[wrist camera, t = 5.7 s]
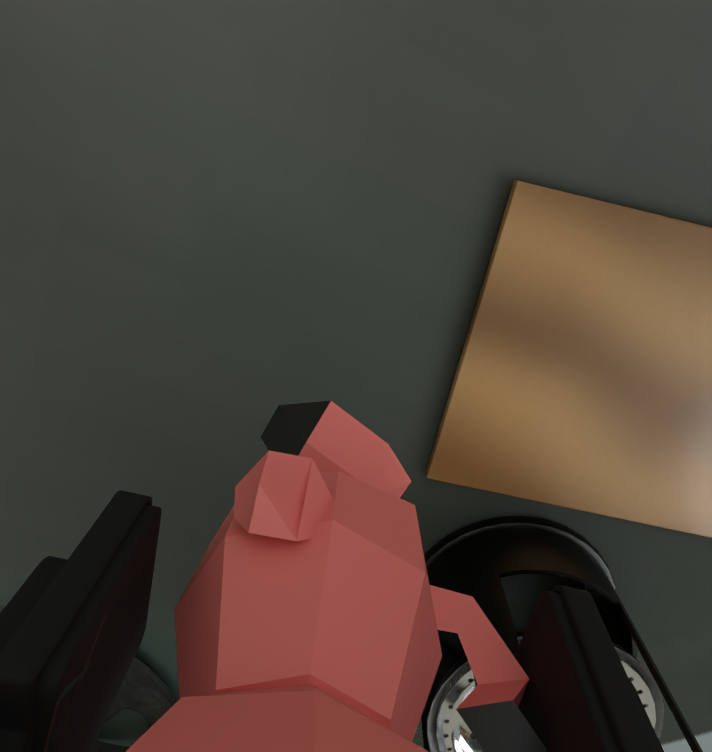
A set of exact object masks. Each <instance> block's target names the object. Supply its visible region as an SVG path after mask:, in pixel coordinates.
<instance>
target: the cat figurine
mask: <svg viewBox="0 0 712 752" xmlns="http://www.w3.org/2000/svg"><path fill="white" fill-rule="evenodd" d="M261 438H262V440H263V441H264V443H265V445H266V446H267V448H268V450H269V451H268V452H267V453H266V454H265V455H264V456H263V457H262V459H261V460H260V461H259V462H258V463H257V464H256V465H255V466H254V467H253V468H252V469H251V470H250V471H249V472H248V474H247V475H246V476H245V477H244V478H243V479H242V480H241V481H240V482H239V483H238V484H237V485H236V486H235V504H234V506H233V507H232V509H231V511H230V512H229V514H228V516H227V517H226V519H225V520H224V522H223V524H222V525H221V527H220V529H219V530H218V532H217V533H216V535H215V537H214V538H213V540H212V541H211V543H210V545H209V547H208V549H207V550H206V552H205V554H204V556H203V558H202V560H201V561H200V563H199V565H198V567H197V569H196V571H195V572H194V574H193V576H192V578H191V580H190V582H189V583H188V585H187V587H186V589H185V591H184V592H183V594H182V596H181V598H180V600H179V602H178V603H177V605H176V607H175V609H174V610H175V627H176V644H177V661H178V678H179V695H180V699H179V700H178V701H177V702H176V703H175V704H174V705H173V706H172V707H171V708H170V709H169V710H168V711H167V712H166V713H165V714H164V715H163V716H162V717H161V718H160V719H159V720H158V721H157V722H156V723H155V724H154V725H153V726H152V727H151V728H149V729H148V730H147V731H146V732H145V733H144V734H143V735H142V736H141V737H140V738H139V739H138V740H137V741H136V742H135V743H134V744H133V745H132V746H131V747H130V748H129V749H128V750H127V751H126V752H428V751H427V750H425V749H423V748H422V747H420V746H418V745H416V744H415V743H413V739H414V736H415V733H416V730H417V727H418V724H419V721H420V719H421V716H422V713H423V710H424V707H425V704H426V701H427V698H428V695H429V693H430V690H431V687H432V684H433V681H434V678H435V675H436V672H437V670H438V667H439V664H440V661H441V658H442V652H441V646H440V641H439V635H438V630H442V631H447V632H453V633H458V636H459V639H460V641H461V644H462V646H463V649H464V651H465V654H466V656H467V659H468V661H469V664H470V666H471V669H472V672H473V674H474V677H475V679H476V682H477V684H478V685H477V686H476V687H475V688H474V689H473V690H472V691H471V693H470V694H469V695H468V696H467V697H466V698H465V699H464V700H463V702H462V703H461V704H460V705H459V706H458V707H457V708H456V710H457V711H458V713H459V714H460V716H461V717H462V719H463V720H464V722H465V723H466V725H467V726H468V728H469V729H470V730H471V732H472V733H473V735H474V736H475V738H476V739H477V741H478V742H479V744H480V745H481V747H482V748H483V750H484V751H485V752H547V749H546V747H545V746H544V745H543V743H542V742H541V740H540V739H539V737H538V736H537V734H536V733H535V731H534V730H533V729H532V727H531V726H530V724H529V723H528V721H527V720H526V718H525V717H524V715H523V714H522V713H521V711H520V710H519V708H518V706H519V704H520V701H521V699H522V696H523V694H524V691H525V689H526V686H527V684H528V681H529V677H528V676H527V675H526V673H525V672H524V670H523V669H522V667H521V666H520V664H519V663H518V662H517V660H516V659H515V657H514V656H513V654H512V653H511V651H510V650H509V648H508V647H507V646H506V644H505V643H504V641H503V640H502V638H501V637H500V635H499V634H498V633H497V631H496V630H495V628H494V627H493V625H492V624H491V622H490V621H489V620H488V618H487V617H486V615H485V614H484V612H483V611H482V609H481V608H480V607H479V605H478V604H477V602H476V601H475V599H474V598H473V597H472V596H469V595H465V594H461V593H458V592H454V591H450V590H447V589H443V588H439V587H436V586H432V585H429V580H428V574H427V569H426V563H425V558H424V552H423V547H422V541H421V536H420V530H419V524H418V519H417V513H416V508H415V505H414V504H411V503H409V502H407V501H405V500H402V499H400V497H401V495H402V494H403V493H404V491H405V490H406V488H407V487H408V486H409V484H410V483H411V480H410V478H409V477H408V475H407V473H406V472H405V470H404V469H403V467H402V465H401V464H400V462H399V461H398V459H397V457H396V456H395V454H394V452H393V451H392V449H391V448H390V446H389V444H387V443H386V442H385V441H383V440H382V439H381V438H380V437H378V436H377V435H376V434H374V433H373V432H372V431H370V430H369V429H368V428H366V427H365V426H364V425H362V424H361V423H360V422H358V421H357V420H356V419H354V418H353V417H352V416H351V415H349V414H348V413H347V412H345V411H344V410H343V409H341V408H340V407H339V406H337V405H336V404H335V403H333V402H332V401H323V402H312V403H301V404H289V405H279V406H278V408H277V409H276V411H275V413H274V415H273V416H272V418H271V420H270V421H269V423H268V425H267V427H266V428H265V430H264V432H263V434H262V435H261ZM146 564H147V563H146ZM142 569H143V568H142ZM138 574H139V573H138ZM134 579H135V578H134ZM130 584H131V583H130ZM127 588H128V587H127ZM127 588H126V589H127ZM123 593H124V592H123ZM123 593H122V594H123ZM119 598H120V597H119ZM119 598H118V599H119ZM118 599H117V600H118ZM115 603H116V602H115ZM115 603H114V604H115ZM114 604H113V605H114ZM112 607H113V606H112ZM112 607H111V608H112ZM111 608H110V609H111ZM110 609H109V610H110ZM108 612H109V611H108ZM108 612H107V613H108ZM106 616H107V614H106V615H105V616H104V618H103V620H102V623H101V625H100V628H99V631H98V633H97V636H96V638H95V641H94V644H93V646H92V649H91V652H90V654H89V657H88V659H87V662H86V665H85V667H84V670H83V672H82V673H81V674H80V675H79V676H77V677H76V678H75V679H74V680H73V681H72V682H71V683H70V684H69V685H68V686H67V687H66V688H65V689H63V691H62V693H61V695H60V697H59V699H58V701H57V703H56V706H55V709H54V713H53V717H52V721H51V725H50V729H49V732H48V736H47V740H46V744H45V748H44V752H47V748H48V744H49V741H50V737H51V733H52V729H53V726H54V722H55V718H56V714H57V711H58V707H59V703H60V700H61V699H62V698H63V696H64V695H65V694H66V693H67V692H68V691H69V690H70V689H71V688H72V686H73V685H74V684H75V683H76V682H77V681H78V680H79V679H80V680H79V683H78V686H77V688H76V691H75V694H74V696H73V699H72V701H71V704H70V707H69V709H68V712H67V715H66V717H65V720H64V722H63V725H62V728H61V730H60V733H59V736H58V738H57V741H56V743H55V746H54V749H53V751H52V752H55V749H56V747H57V744H58V742H59V739H60V736H61V734H62V731H63V728H64V726H65V723H66V721H67V718H68V715H69V713H70V710H71V708H72V705H73V702H74V700H75V697H76V694H77V692H78V689H79V687H80V684H81V681H82V679H83V676H84V673H85V672H86V671H87V670H88V668H89V667H90V666H91V665H92V664H93V663H94V662H95V661H96V660H95V661H94V662H93V663H91V664H90V665H89V666H88V663H89V660H90V658H91V655H92V653H93V650H94V647H95V645H96V642H97V639H98V637H99V634H100V632H101V629H102V626H103V624H104V621H105V618H106ZM87 666H88V667H87ZM80 677H81V678H80ZM99 752H103V748H102V749H101V750H100V751H99Z"/></svg>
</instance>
